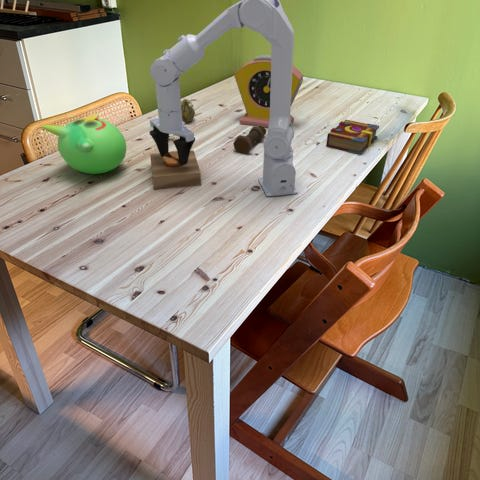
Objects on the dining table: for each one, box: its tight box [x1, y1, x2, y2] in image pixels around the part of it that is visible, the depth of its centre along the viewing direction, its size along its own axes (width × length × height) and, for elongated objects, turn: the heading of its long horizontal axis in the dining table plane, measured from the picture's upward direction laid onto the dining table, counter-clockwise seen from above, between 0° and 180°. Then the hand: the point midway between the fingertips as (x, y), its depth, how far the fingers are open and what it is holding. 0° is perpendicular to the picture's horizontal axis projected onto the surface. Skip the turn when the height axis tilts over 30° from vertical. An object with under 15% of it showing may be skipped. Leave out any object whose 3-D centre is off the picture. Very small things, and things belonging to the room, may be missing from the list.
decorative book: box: [325, 119, 380, 155], centre depth 136 cm, size 11×16×5 cm
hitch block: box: [149, 149, 202, 190], centre depth 117 cm, size 14×12×4 cm
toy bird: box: [41, 113, 127, 175], centre depth 116 cm, size 18×17×15 cm
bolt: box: [232, 126, 267, 155], centre depth 134 cm, size 6×5×15 cm
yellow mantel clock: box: [233, 54, 304, 128], centre depth 144 cm, size 22×9×22 cm, turn 71°
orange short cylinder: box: [163, 150, 183, 168], centre depth 117 cm, size 6×6×5 cm
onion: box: [181, 98, 196, 123], centre depth 149 cm, size 8×8×8 cm
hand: (174, 159), depth 116 cm, fingers open, 7 cm apart
